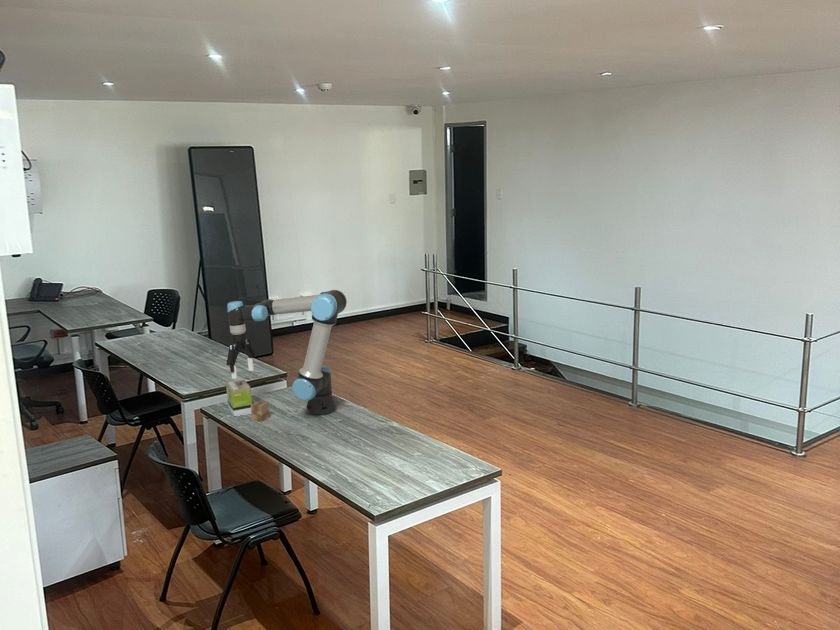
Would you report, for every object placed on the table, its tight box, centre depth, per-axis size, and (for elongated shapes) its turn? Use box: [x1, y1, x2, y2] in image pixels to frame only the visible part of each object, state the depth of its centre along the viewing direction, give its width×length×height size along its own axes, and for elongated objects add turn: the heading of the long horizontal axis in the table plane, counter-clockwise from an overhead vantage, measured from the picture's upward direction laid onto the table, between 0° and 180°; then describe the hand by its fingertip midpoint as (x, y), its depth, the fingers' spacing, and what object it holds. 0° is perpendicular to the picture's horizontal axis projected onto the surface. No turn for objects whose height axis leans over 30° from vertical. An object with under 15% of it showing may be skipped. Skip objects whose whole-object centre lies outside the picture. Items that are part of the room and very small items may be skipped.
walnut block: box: [250, 401, 270, 422], centre depth 373 cm, size 6×6×8 cm
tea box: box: [225, 379, 253, 417], centre depth 385 cm, size 15×10×15 cm
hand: (243, 374), depth 376 cm, fingers open, 13 cm apart
